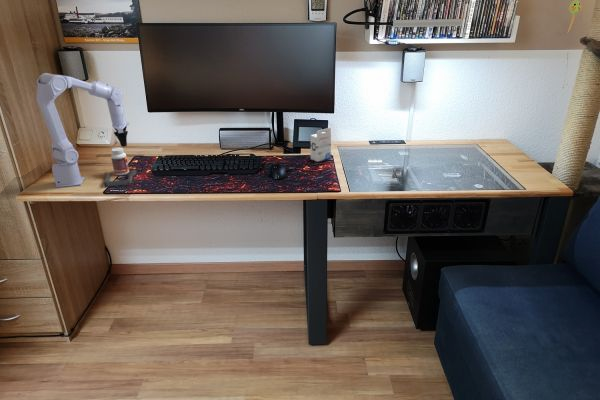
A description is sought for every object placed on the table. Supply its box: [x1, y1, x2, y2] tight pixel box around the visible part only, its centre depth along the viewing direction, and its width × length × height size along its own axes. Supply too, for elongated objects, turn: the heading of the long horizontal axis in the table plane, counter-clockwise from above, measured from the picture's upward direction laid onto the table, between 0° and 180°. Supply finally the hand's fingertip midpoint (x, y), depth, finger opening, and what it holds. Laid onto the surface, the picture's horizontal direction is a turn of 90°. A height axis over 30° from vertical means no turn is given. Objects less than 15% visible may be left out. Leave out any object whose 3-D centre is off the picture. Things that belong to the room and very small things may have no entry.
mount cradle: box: [103, 169, 138, 188], centre depth 185 cm, size 13×12×2 cm
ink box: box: [310, 127, 332, 163], centre depth 203 cm, size 9×5×15 cm, turn 126°
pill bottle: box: [110, 146, 130, 176], centre depth 190 cm, size 6×6×11 cm
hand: (123, 143), depth 199 cm, fingers open, 7 cm apart
